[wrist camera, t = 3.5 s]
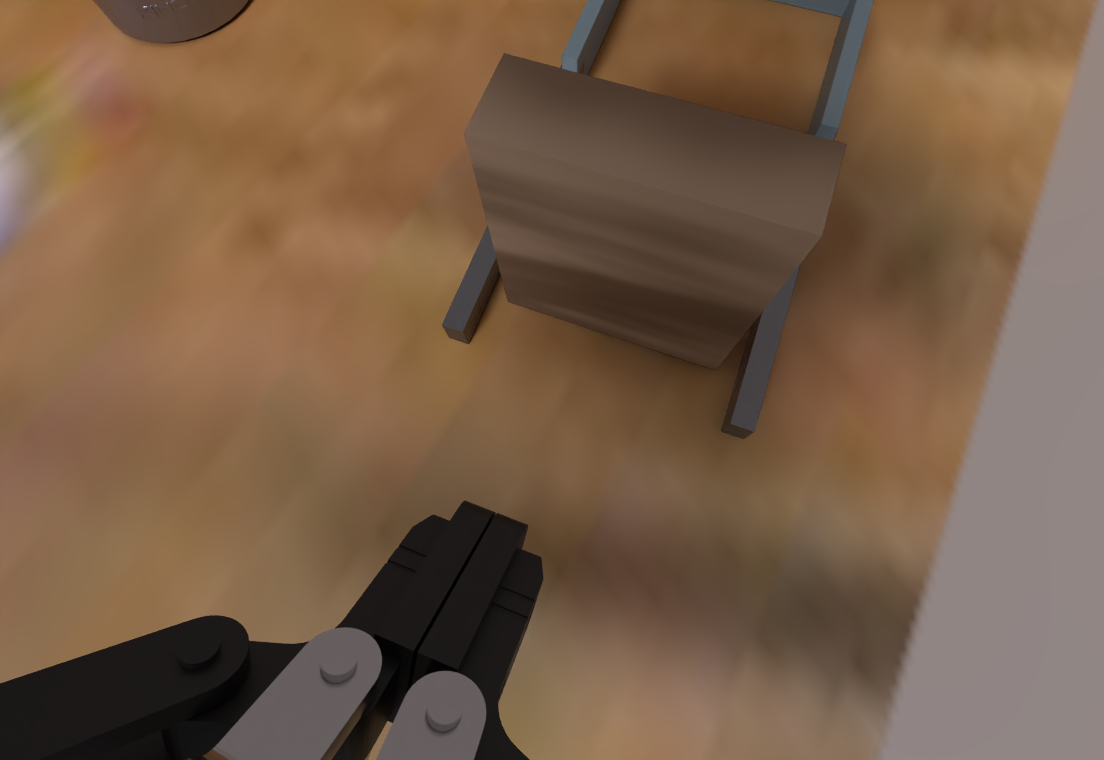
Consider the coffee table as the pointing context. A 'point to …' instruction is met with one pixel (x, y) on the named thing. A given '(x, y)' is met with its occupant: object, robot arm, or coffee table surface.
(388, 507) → the coffee table surface
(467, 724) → the robot arm
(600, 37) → the blue-grey rectangular frame
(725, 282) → the board
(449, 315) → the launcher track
